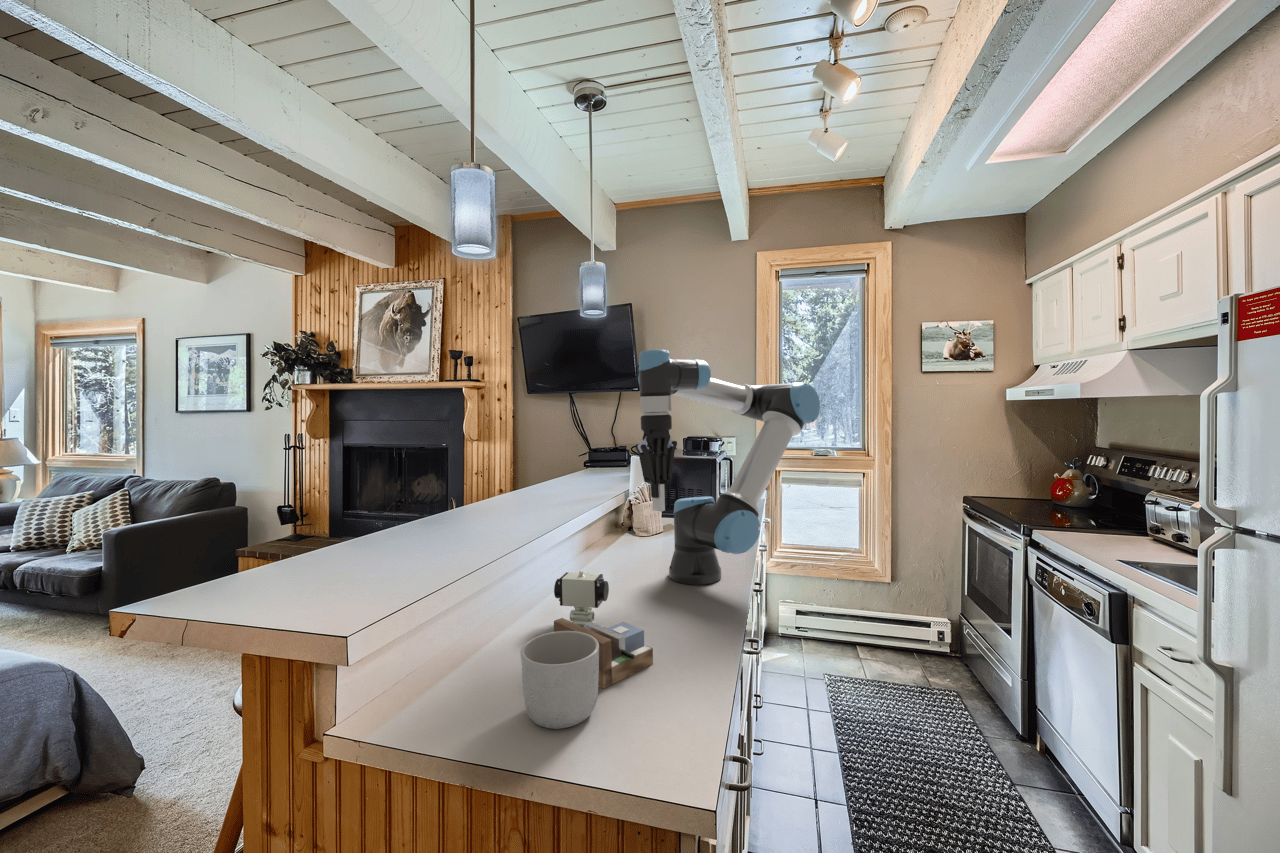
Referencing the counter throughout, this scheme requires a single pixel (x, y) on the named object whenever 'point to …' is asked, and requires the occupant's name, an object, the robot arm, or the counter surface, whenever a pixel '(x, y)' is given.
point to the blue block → (629, 635)
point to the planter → (560, 678)
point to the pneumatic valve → (581, 594)
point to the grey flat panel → (615, 638)
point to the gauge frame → (610, 656)
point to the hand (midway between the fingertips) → (658, 510)
